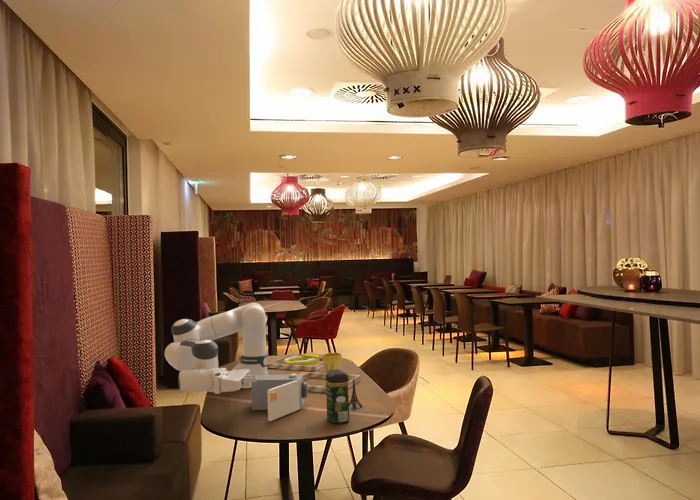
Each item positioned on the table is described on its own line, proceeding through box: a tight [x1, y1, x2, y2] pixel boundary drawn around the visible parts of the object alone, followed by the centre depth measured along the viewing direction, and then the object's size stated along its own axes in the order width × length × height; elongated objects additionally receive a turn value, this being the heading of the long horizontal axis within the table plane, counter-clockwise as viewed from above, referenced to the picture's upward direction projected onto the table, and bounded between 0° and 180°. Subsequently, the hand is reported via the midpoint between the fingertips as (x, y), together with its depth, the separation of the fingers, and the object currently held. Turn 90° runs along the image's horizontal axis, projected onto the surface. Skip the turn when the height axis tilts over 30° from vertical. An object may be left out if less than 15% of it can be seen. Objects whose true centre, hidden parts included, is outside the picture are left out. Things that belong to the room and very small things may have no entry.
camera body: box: [251, 373, 308, 411], centre depth 220 cm, size 22×9×13 cm, turn 89°
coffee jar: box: [325, 369, 350, 424], centre depth 200 cm, size 10×8×19 cm
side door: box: [267, 378, 302, 422], centre depth 207 cm, size 19×2×12 cm, turn 147°
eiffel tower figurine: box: [349, 378, 365, 414], centre depth 215 cm, size 15×10×13 cm
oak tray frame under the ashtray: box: [267, 355, 325, 372], centre depth 301 cm, size 29×24×2 cm
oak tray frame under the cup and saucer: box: [303, 371, 361, 394], centre depth 254 cm, size 28×26×2 cm
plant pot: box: [321, 352, 343, 373], centre depth 279 cm, size 10×10×10 cm
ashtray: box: [282, 353, 320, 366], centre depth 300 cm, size 16×21×5 cm
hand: (257, 378), depth 202 cm, fingers closed
